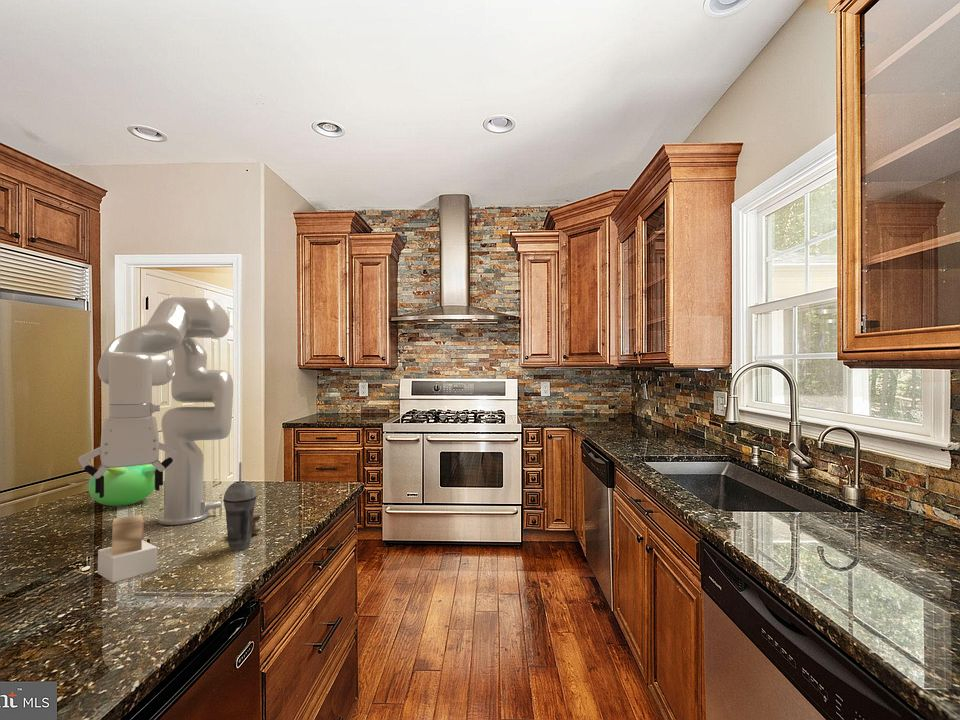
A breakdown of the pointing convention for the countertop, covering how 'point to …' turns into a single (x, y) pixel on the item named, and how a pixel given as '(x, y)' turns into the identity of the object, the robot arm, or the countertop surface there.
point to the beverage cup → (239, 513)
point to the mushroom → (255, 519)
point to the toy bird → (125, 485)
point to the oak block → (127, 534)
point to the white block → (127, 562)
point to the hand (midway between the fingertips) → (130, 492)
